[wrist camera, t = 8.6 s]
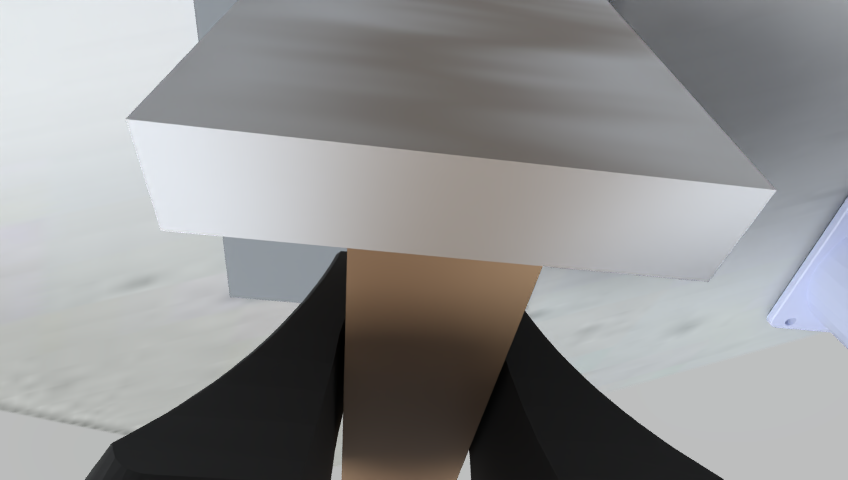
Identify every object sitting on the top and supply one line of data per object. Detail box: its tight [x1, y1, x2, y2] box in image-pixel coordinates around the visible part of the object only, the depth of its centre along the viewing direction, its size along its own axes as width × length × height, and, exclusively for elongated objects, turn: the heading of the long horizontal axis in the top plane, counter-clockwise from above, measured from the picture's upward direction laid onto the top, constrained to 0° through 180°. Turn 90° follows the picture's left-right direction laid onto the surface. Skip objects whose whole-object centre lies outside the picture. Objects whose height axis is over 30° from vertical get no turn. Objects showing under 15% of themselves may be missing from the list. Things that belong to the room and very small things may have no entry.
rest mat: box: [194, 0, 610, 303], centre depth 20 cm, size 14×16×1 cm
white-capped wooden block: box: [126, 0, 776, 480], centre depth 12 cm, size 7×12×7 cm, turn 173°
